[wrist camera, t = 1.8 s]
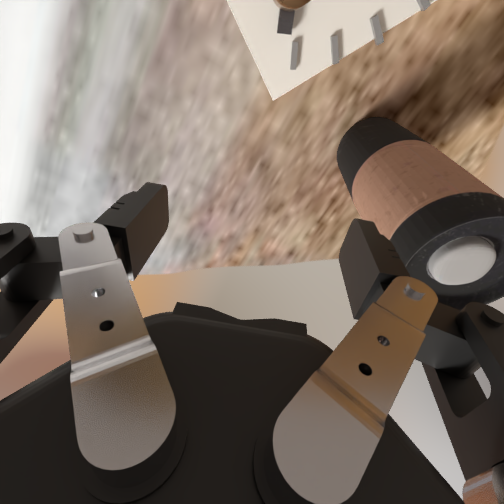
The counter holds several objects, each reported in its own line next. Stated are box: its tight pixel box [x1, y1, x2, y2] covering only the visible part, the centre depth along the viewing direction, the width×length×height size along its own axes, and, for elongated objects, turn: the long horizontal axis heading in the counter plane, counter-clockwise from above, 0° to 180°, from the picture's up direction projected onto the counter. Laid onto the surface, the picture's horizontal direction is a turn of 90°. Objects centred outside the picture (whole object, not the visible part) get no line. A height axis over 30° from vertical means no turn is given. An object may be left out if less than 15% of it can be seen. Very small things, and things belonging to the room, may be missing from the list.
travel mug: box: [337, 117, 504, 311], centre depth 23 cm, size 8×8×20 cm
